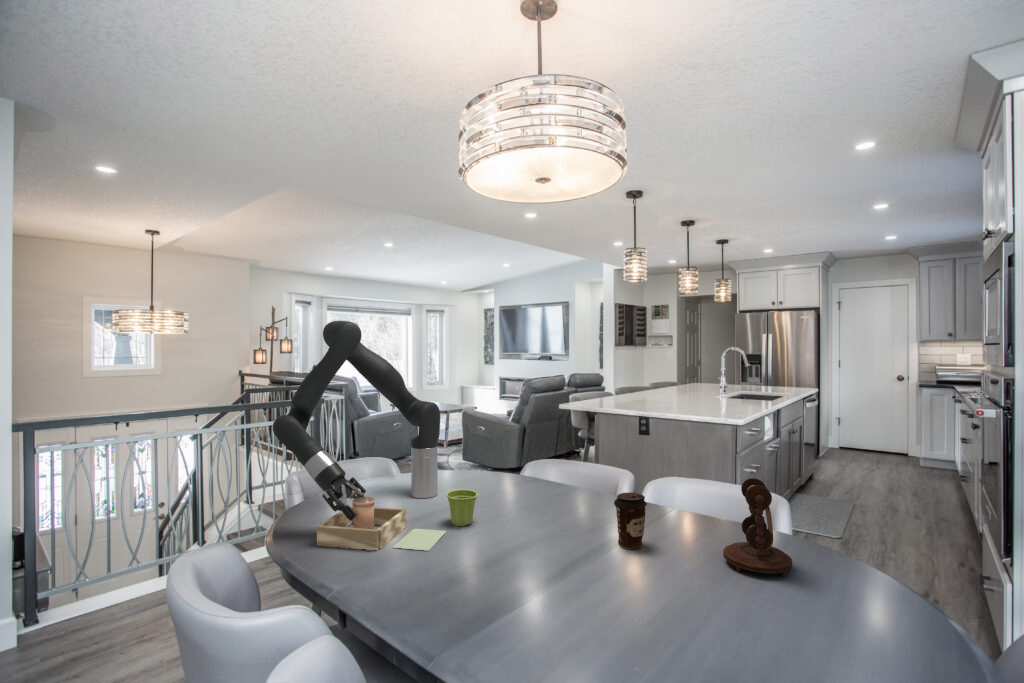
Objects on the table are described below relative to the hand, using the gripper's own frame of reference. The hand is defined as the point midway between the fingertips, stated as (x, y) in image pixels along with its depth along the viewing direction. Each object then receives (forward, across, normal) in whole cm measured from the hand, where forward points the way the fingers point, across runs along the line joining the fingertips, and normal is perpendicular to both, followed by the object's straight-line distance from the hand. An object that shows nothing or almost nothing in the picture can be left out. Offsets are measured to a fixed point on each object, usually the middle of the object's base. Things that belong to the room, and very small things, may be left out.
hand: (361, 513), depth 142 cm
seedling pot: (+5, 0, +4) cm, 6 cm away
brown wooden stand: (+77, 0, -68) cm, 103 cm away
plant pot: (+22, +15, -13) cm, 30 cm away
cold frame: (+5, 0, +4) cm, 6 cm away
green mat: (+17, 0, -8) cm, 19 cm away
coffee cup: (+56, +7, -48) cm, 74 cm away
